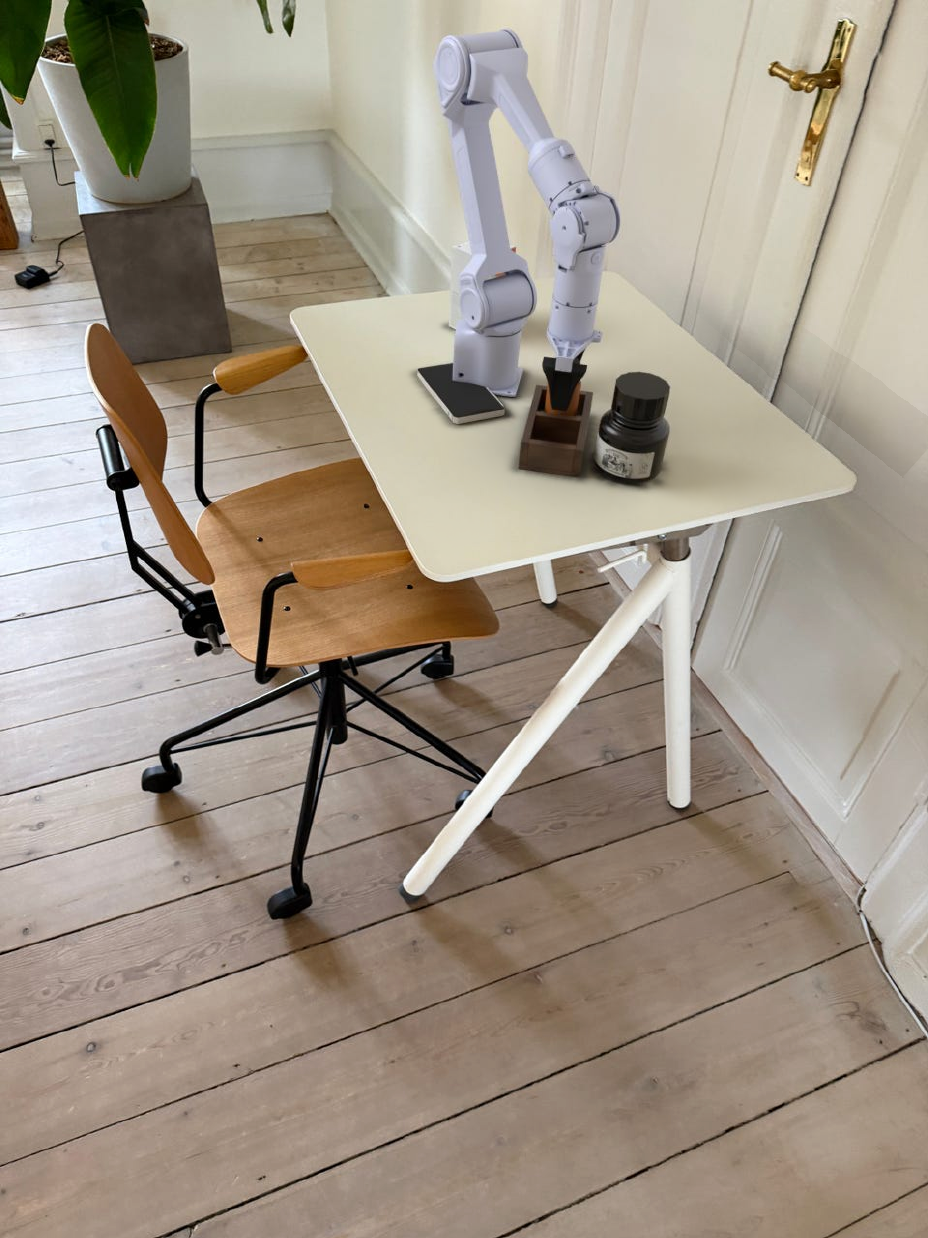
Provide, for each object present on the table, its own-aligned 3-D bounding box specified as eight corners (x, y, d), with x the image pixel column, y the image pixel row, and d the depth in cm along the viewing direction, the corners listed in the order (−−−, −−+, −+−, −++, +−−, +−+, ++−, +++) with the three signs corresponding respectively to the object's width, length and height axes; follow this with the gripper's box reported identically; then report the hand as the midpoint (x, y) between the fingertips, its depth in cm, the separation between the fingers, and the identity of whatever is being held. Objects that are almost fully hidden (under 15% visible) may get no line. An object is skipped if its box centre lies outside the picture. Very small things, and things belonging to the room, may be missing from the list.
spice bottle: (541, 429, 127) (548, 366, 120) (545, 413, 130) (552, 350, 123) (573, 434, 126) (582, 371, 120) (576, 417, 129) (585, 355, 123)
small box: (475, 340, 146) (480, 258, 137) (447, 326, 149) (450, 245, 141) (510, 325, 151) (517, 245, 142) (483, 312, 154) (487, 232, 145)
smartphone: (465, 360, 140) (507, 408, 130) (464, 367, 141) (506, 415, 131) (415, 368, 137) (454, 418, 127) (415, 375, 138) (453, 425, 128)
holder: (518, 468, 121) (521, 441, 118) (533, 410, 132) (536, 384, 129) (579, 477, 120) (583, 450, 117) (589, 417, 131) (593, 391, 128)
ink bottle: (577, 466, 122) (589, 384, 114) (614, 439, 127) (628, 359, 119) (640, 496, 118) (657, 413, 110) (675, 467, 123) (695, 386, 115)
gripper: (602, 327, 110) (587, 426, 119) (611, 277, 120) (596, 372, 130) (543, 320, 111) (532, 419, 120) (557, 271, 121) (546, 366, 130)
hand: (562, 394), depth 125 cm, fingers open, 7 cm apart
